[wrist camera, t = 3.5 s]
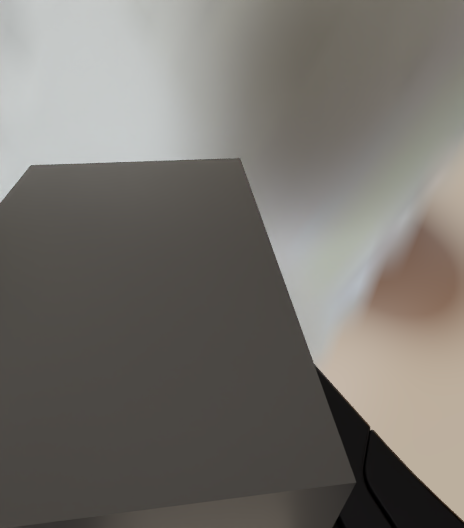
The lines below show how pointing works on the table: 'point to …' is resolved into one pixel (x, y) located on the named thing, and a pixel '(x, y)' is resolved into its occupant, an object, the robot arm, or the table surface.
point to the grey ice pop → (155, 357)
